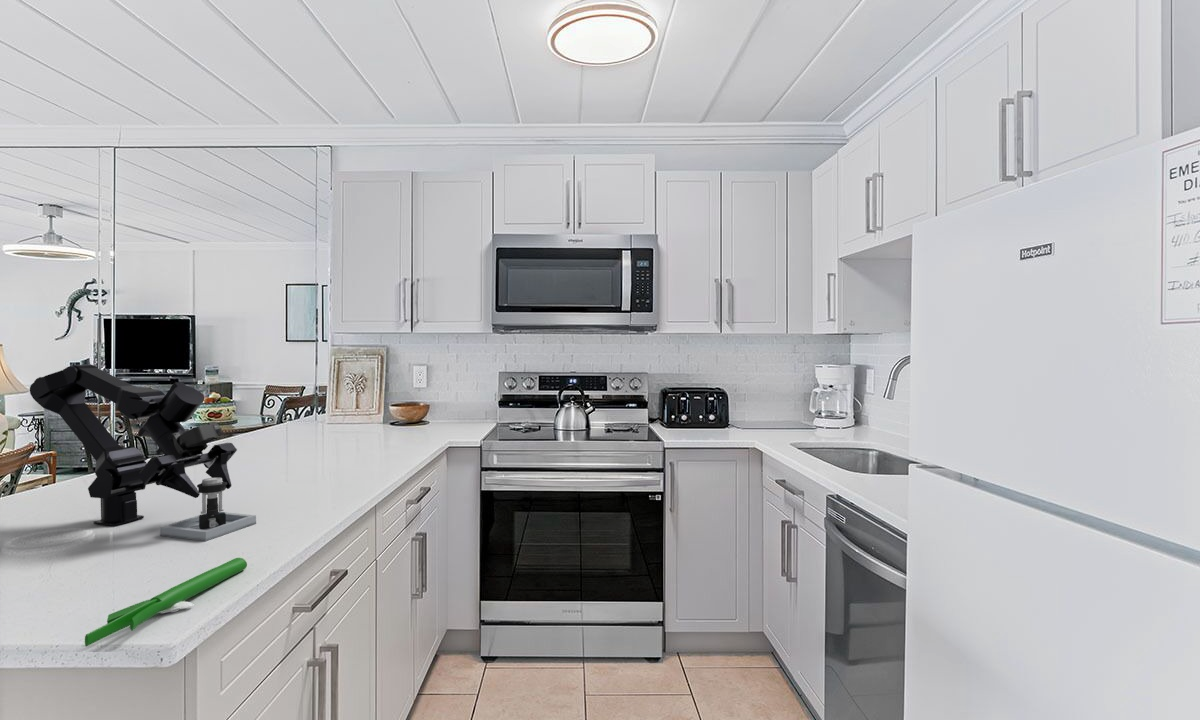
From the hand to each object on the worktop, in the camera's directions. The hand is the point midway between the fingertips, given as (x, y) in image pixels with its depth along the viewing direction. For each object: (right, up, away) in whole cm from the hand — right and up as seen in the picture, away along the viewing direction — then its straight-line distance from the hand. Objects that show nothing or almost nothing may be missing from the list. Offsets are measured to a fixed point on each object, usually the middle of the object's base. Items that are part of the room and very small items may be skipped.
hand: (214, 491), depth 127 cm
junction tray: (-1, -8, +1) cm, 8 cm away
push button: (-2, -8, +1) cm, 8 cm away
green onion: (+18, -9, -37) cm, 42 cm away
